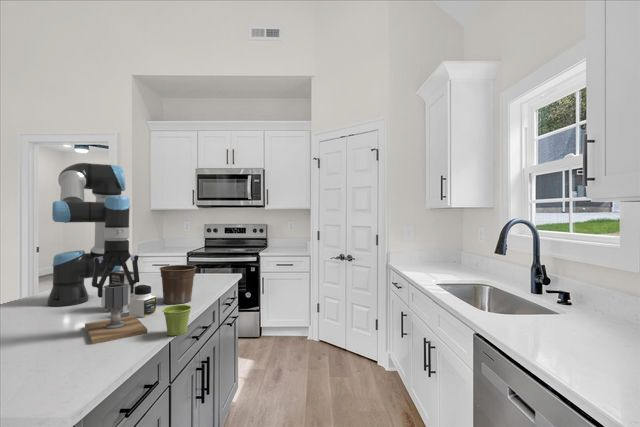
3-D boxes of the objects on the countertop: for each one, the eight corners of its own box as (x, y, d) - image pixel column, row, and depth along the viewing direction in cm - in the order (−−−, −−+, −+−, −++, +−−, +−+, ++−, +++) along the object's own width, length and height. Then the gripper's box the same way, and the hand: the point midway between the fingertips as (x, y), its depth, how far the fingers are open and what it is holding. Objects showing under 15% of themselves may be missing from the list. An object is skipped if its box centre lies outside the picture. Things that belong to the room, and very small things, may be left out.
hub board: (84, 327, 122) (85, 301, 122) (134, 319, 133) (134, 294, 133) (91, 344, 107) (92, 314, 107) (147, 333, 117) (147, 305, 117)
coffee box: (107, 309, 145) (108, 272, 145) (121, 306, 151) (122, 269, 151) (122, 312, 142) (123, 273, 142) (136, 308, 148) (136, 271, 148)
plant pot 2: (173, 340, 111) (173, 313, 111) (156, 334, 116) (156, 309, 116) (197, 332, 119) (197, 307, 119) (180, 327, 124) (180, 303, 124)
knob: (105, 309, 115) (106, 288, 115) (102, 304, 121) (102, 284, 121) (129, 305, 119) (129, 286, 119) (124, 301, 125) (125, 282, 125)
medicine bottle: (144, 317, 135) (144, 287, 135) (128, 316, 136) (129, 286, 136) (156, 312, 142) (156, 284, 142) (141, 311, 143) (141, 283, 143)
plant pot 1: (203, 300, 163) (203, 266, 163) (173, 307, 149) (173, 271, 149) (182, 295, 172) (182, 263, 172) (151, 302, 158) (152, 267, 158)
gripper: (83, 241, 111) (82, 312, 110) (150, 239, 123) (149, 302, 123) (81, 240, 116) (80, 307, 116) (145, 238, 129) (144, 298, 129)
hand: (115, 304), depth 120 cm, fingers closed on knob, 7 cm apart
